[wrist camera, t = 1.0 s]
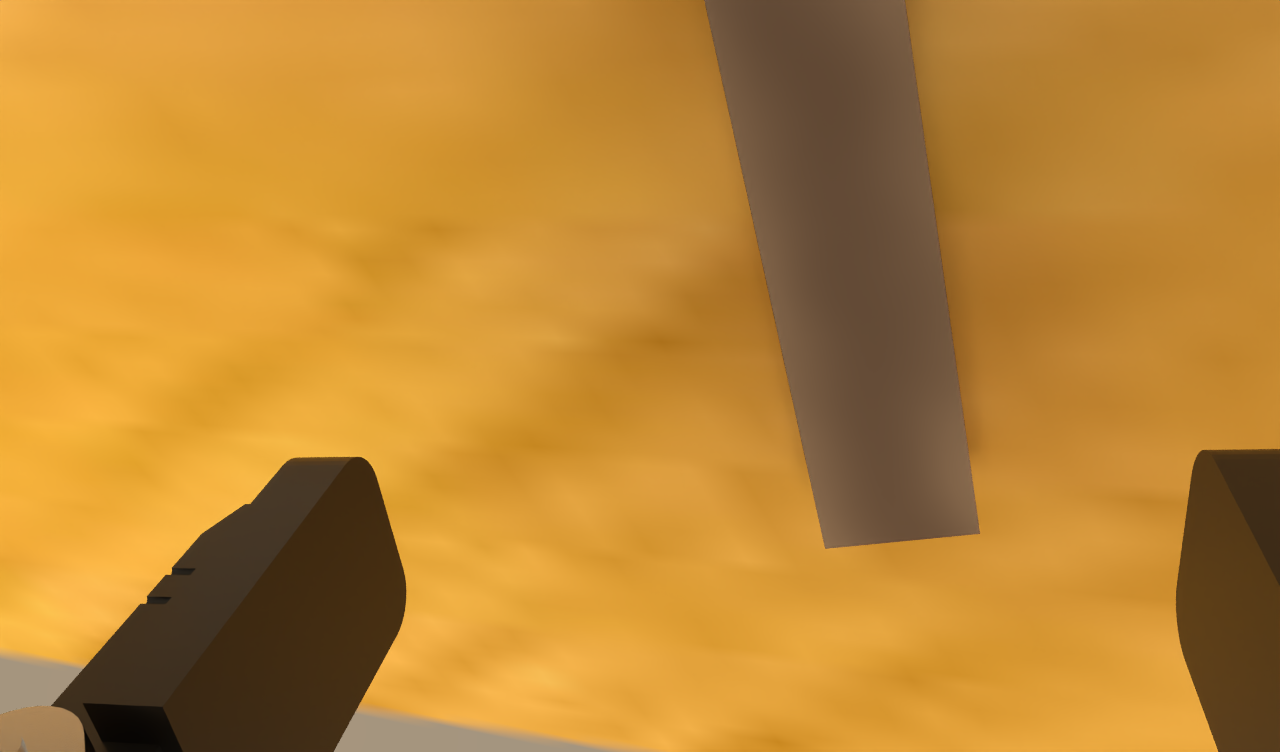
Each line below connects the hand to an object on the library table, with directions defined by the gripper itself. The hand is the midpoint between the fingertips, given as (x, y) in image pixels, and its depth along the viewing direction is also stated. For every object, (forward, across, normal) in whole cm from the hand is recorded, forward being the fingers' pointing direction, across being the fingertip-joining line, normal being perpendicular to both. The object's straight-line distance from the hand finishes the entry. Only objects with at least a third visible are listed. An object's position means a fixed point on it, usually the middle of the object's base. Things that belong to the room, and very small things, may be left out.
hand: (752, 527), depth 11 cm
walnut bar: (+19, 0, 0) cm, 19 cm away
